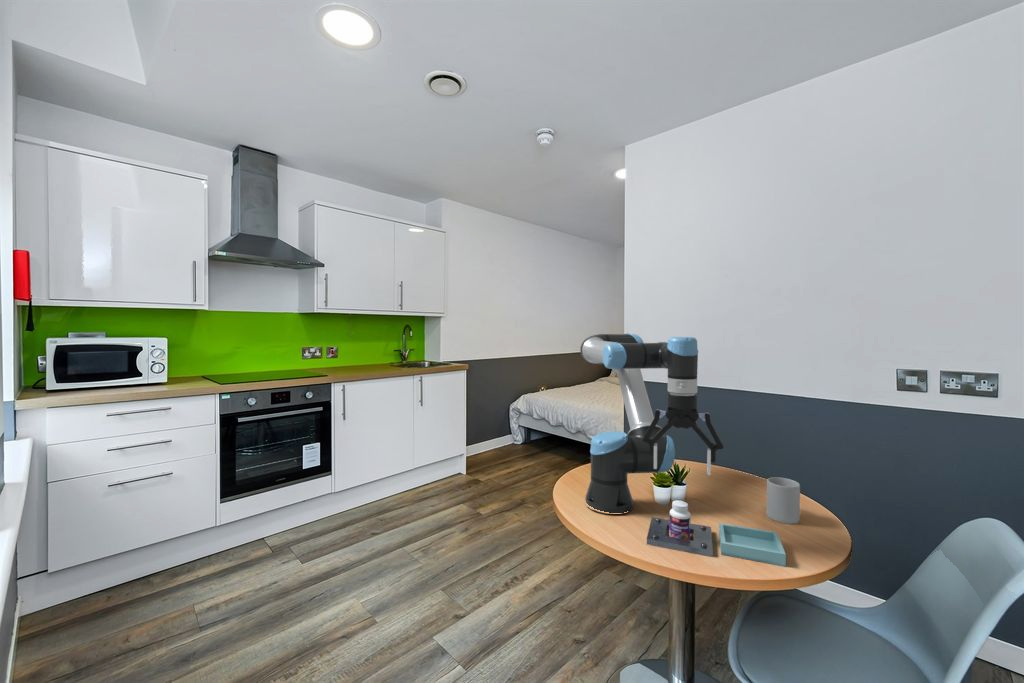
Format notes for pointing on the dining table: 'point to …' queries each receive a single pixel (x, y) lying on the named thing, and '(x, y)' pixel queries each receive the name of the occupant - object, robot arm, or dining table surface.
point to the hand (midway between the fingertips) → (681, 470)
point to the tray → (751, 544)
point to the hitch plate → (698, 546)
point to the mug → (783, 500)
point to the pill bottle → (679, 520)
